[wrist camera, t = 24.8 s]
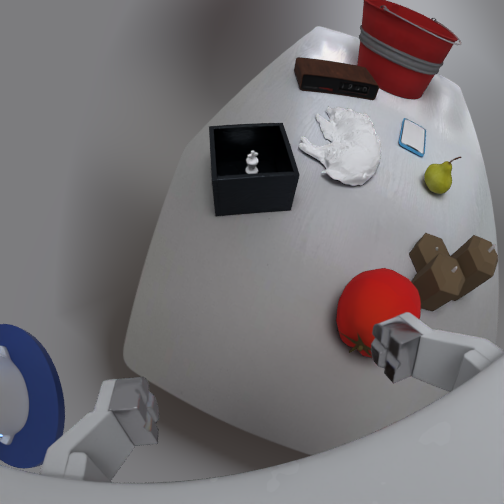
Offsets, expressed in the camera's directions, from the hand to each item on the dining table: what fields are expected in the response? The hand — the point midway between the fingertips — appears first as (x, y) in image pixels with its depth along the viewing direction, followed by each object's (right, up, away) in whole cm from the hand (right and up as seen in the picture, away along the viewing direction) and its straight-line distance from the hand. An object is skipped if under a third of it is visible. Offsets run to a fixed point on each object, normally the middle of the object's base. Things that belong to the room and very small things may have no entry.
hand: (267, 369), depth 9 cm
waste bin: (-1, +17, +47) cm, 50 cm away
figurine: (+20, +29, +54) cm, 64 cm away
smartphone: (+43, +35, +59) cm, 81 cm away
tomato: (+17, -7, +35) cm, 40 cm away
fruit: (+42, +19, +50) cm, 68 cm away
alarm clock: (+25, +55, +68) cm, 91 cm away
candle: (+35, -1, +39) cm, 52 cm away
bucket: (+50, +66, +75) cm, 112 cm away
